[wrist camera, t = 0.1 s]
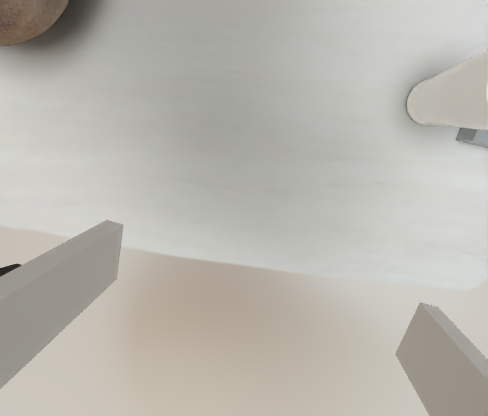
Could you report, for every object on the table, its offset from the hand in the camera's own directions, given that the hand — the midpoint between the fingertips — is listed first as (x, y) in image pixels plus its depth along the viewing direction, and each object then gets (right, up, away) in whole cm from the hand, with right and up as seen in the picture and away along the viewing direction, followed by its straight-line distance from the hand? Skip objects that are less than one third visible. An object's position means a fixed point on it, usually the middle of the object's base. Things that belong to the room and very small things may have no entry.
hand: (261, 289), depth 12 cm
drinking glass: (+22, +17, +23) cm, 36 cm away
